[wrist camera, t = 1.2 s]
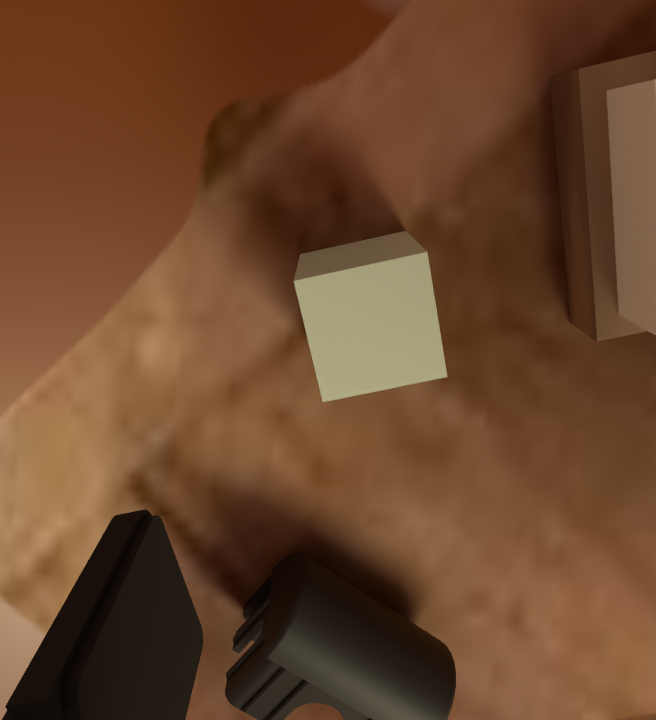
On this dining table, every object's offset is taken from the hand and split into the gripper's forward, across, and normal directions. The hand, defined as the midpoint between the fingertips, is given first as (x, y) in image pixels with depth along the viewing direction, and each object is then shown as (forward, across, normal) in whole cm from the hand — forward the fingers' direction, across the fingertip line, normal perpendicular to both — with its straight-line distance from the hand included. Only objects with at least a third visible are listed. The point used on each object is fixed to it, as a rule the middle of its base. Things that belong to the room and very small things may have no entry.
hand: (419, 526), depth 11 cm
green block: (+18, 0, 0) cm, 19 cm away
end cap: (+19, +5, +18) cm, 26 cm away
